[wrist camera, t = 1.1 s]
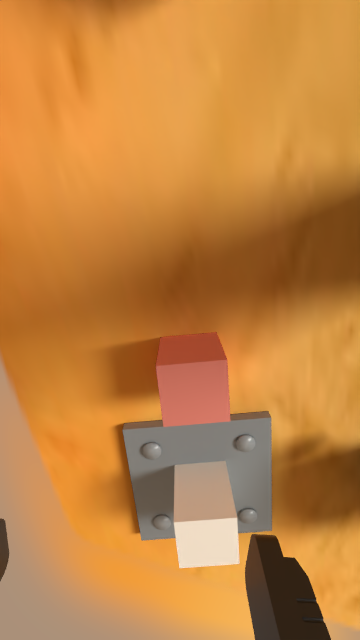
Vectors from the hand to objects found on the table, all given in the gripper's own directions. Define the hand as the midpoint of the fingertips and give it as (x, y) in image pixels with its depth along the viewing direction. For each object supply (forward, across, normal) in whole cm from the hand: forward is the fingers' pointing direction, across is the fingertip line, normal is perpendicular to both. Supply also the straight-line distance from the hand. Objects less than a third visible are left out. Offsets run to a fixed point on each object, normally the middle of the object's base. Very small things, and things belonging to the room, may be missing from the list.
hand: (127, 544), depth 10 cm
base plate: (+18, -5, +14) cm, 23 cm away
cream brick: (+17, -5, +14) cm, 22 cm away
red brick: (+18, -3, +1) cm, 18 cm away
